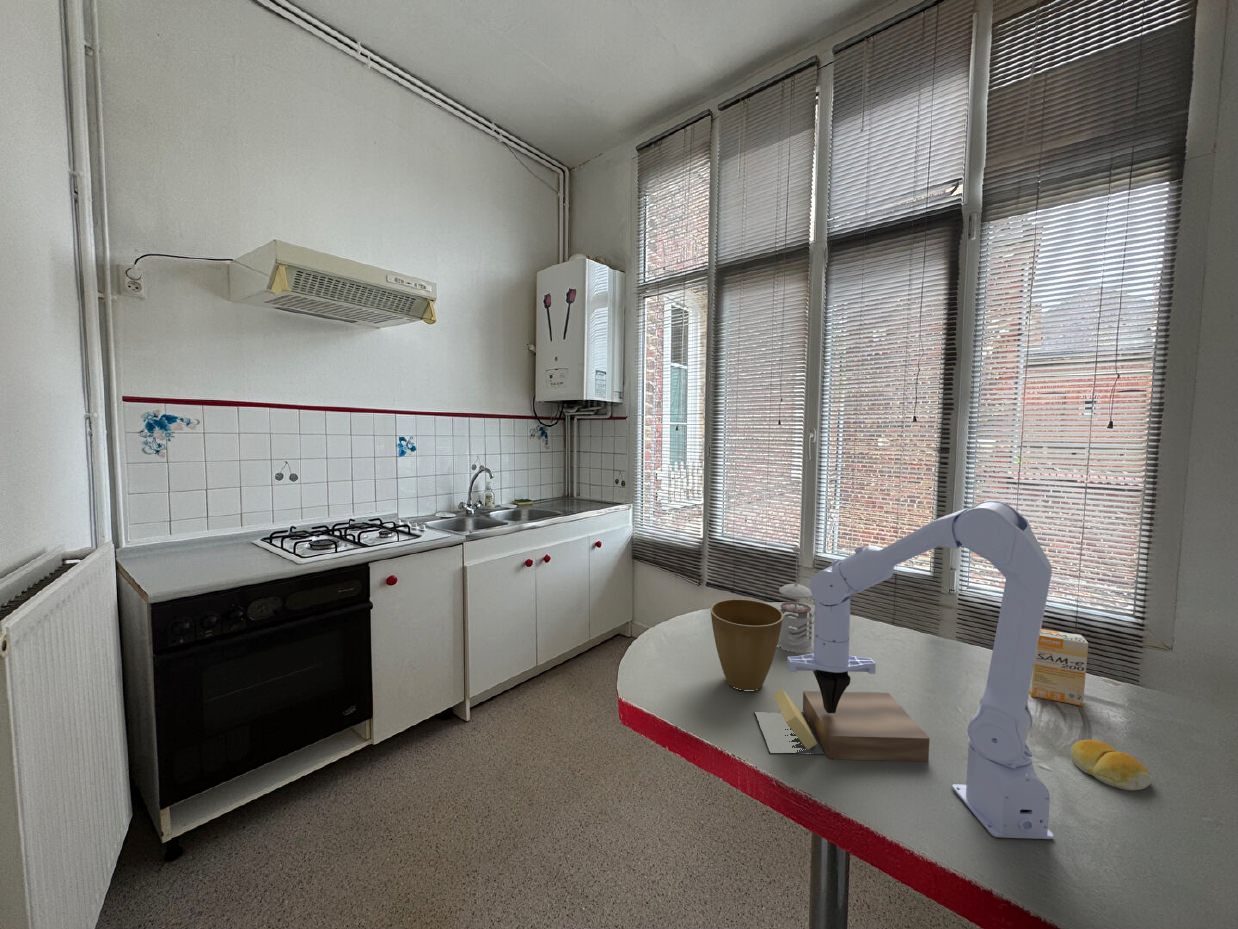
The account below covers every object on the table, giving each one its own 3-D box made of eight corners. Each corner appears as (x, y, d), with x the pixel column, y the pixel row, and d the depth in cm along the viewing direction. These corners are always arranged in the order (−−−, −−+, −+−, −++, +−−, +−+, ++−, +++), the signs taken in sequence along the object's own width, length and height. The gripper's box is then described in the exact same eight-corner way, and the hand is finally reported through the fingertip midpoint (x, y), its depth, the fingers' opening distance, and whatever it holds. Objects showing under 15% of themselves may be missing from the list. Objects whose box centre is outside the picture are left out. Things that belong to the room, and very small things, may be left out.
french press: (766, 639, 130) (768, 543, 128) (804, 633, 134) (806, 540, 131) (790, 655, 121) (792, 553, 119) (830, 649, 124) (833, 549, 122)
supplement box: (1030, 697, 102) (1034, 634, 101) (1025, 686, 106) (1028, 625, 105) (1084, 708, 98) (1089, 642, 97) (1076, 696, 102) (1080, 633, 101)
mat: (823, 755, 85) (823, 753, 85) (769, 753, 85) (769, 752, 85) (801, 713, 97) (801, 712, 97) (754, 712, 97) (754, 711, 97)
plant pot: (704, 695, 103) (705, 619, 102) (715, 663, 117) (715, 595, 116) (781, 708, 99) (782, 629, 97) (782, 672, 113) (783, 602, 111)
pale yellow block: (795, 716, 85) (786, 722, 85) (817, 743, 85) (807, 750, 86) (781, 688, 94) (773, 694, 94) (801, 713, 94) (792, 719, 94)
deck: (928, 761, 83) (929, 738, 83) (829, 759, 84) (829, 736, 83) (887, 712, 97) (888, 692, 97) (802, 711, 98) (803, 691, 97)
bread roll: (1093, 750, 86) (1095, 728, 85) (1160, 787, 77) (1162, 762, 77) (1055, 758, 84) (1057, 735, 84) (1119, 797, 75) (1121, 771, 75)
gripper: (864, 627, 92) (861, 698, 93) (783, 625, 92) (781, 697, 94) (882, 644, 85) (879, 721, 86) (794, 642, 85) (792, 719, 87)
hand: (829, 710), depth 89 cm, fingers closed
